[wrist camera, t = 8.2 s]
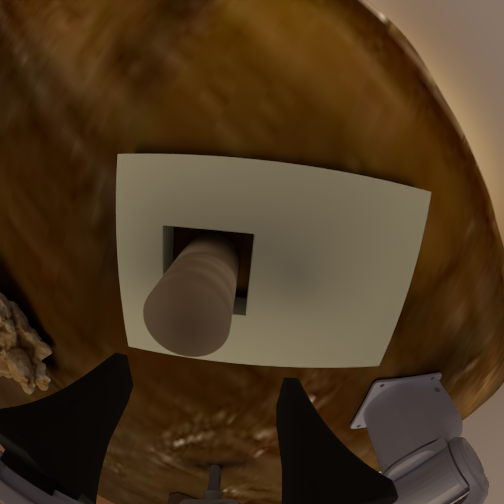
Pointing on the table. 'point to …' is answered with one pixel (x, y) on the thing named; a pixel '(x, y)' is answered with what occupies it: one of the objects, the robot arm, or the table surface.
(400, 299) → the socket board
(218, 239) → the birch peg
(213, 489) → the mechanical component
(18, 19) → the table surface
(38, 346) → the mineral formation
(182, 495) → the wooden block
